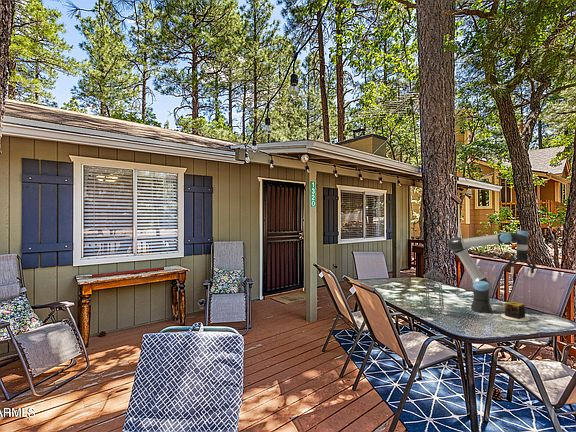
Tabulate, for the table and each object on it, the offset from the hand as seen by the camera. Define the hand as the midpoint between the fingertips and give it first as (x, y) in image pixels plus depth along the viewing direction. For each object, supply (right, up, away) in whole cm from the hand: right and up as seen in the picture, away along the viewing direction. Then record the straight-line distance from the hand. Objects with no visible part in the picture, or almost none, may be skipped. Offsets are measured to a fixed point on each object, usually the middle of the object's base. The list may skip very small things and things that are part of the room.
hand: (521, 276), depth 265 cm
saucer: (-16, -29, -15) cm, 37 cm away
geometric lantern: (-70, -30, +2) cm, 76 cm away
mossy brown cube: (-16, -28, -15) cm, 36 cm away
